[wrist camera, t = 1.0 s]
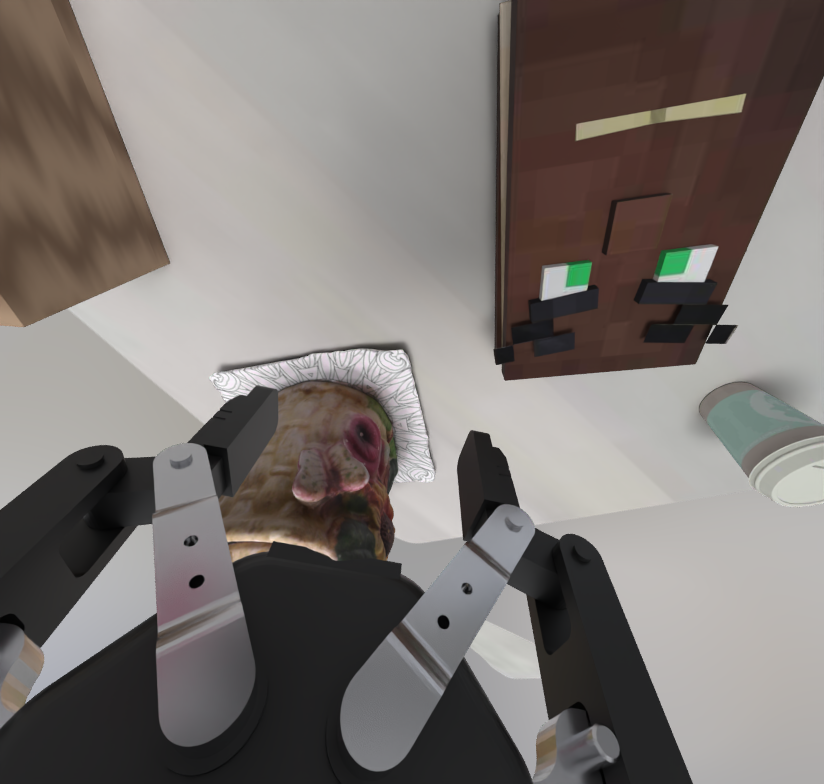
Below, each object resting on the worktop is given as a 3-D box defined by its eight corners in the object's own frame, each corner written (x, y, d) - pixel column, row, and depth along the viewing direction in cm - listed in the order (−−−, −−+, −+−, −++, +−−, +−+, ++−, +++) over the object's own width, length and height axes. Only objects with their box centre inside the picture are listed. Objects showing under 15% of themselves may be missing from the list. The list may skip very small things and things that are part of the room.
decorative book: (1024, -253, 12) (706, 389, 30) (827, -120, 18) (660, 348, 36) (496, -109, 14) (492, 406, 32) (477, -34, 21) (483, 365, 38)
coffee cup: (782, 398, 38) (898, 482, 29) (704, 437, 43) (783, 520, 33) (752, 358, 35) (871, 436, 26) (672, 403, 40) (749, 484, 30)
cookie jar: (291, 487, 54) (165, 790, 29) (211, 363, 40) (-187, 751, 14) (438, 476, 50) (443, 812, 25) (408, 335, 36) (350, 790, 11)
